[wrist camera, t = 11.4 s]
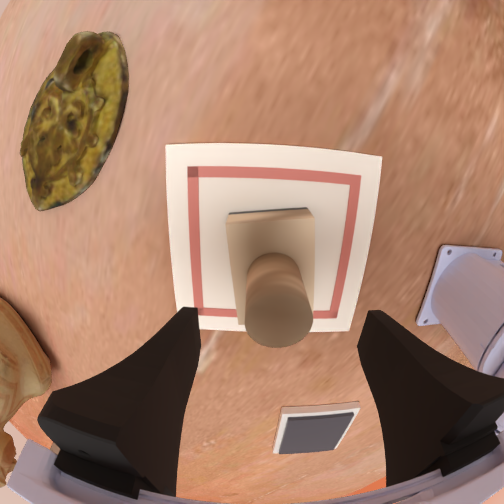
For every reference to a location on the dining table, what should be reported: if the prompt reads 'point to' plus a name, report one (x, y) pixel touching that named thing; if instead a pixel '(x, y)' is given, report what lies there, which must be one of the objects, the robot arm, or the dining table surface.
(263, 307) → the stamp
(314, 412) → the ink pad
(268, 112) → the dining table surface
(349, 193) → the board
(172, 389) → the robot arm
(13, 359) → the ceramic vessel
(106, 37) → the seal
